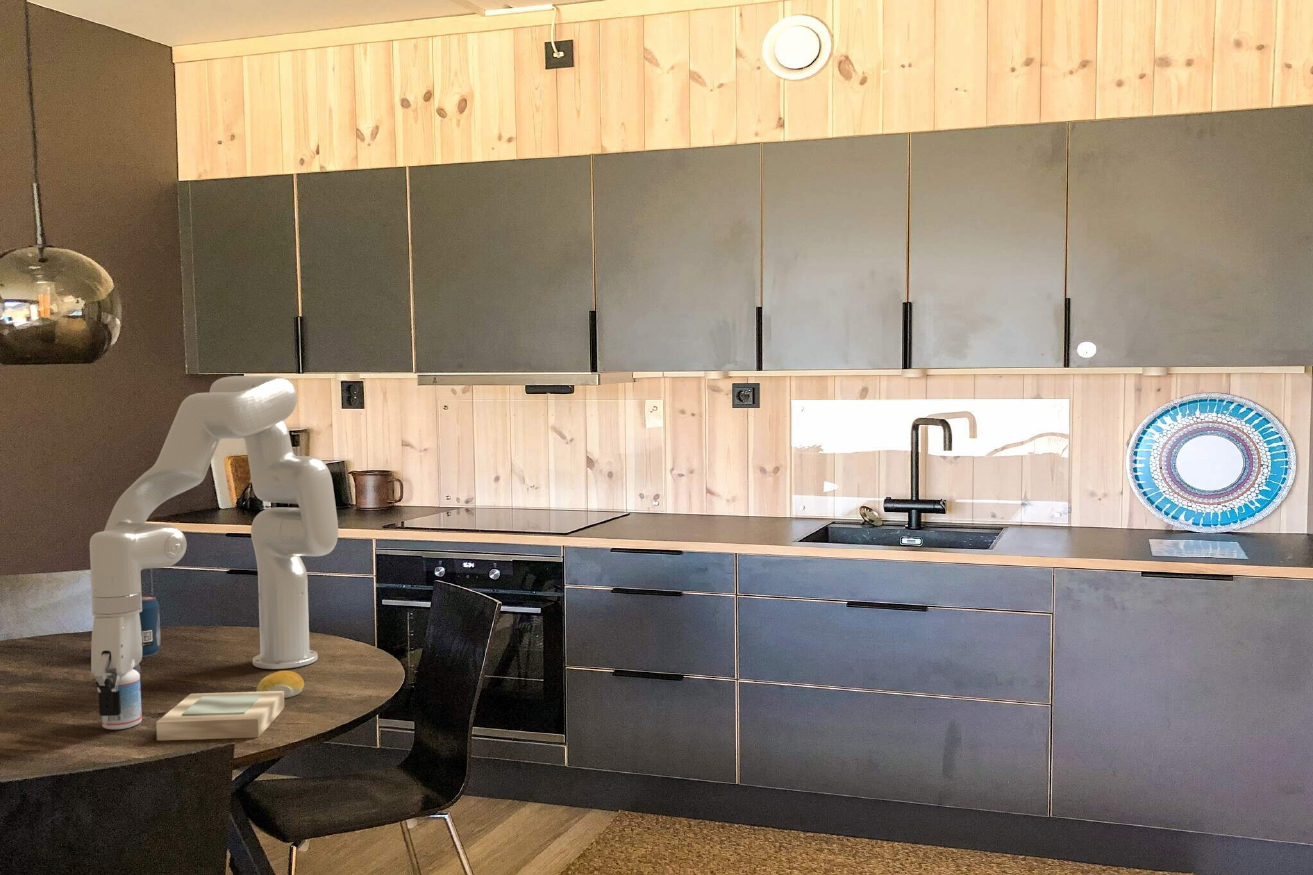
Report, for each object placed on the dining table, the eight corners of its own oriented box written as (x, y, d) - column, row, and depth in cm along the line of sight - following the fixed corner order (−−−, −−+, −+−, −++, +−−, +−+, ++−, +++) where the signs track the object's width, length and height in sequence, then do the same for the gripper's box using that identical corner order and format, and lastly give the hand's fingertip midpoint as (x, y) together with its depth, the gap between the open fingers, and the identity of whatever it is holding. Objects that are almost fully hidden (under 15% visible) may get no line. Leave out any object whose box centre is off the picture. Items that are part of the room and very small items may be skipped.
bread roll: (305, 685, 212) (305, 664, 212) (301, 698, 204) (300, 676, 203) (259, 688, 210) (259, 667, 210) (253, 701, 202) (252, 680, 202)
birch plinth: (191, 710, 196) (190, 691, 196) (284, 707, 197) (283, 689, 197) (156, 740, 180) (156, 720, 180) (258, 737, 181) (257, 717, 181)
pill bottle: (149, 721, 190) (147, 656, 189) (119, 732, 185) (116, 665, 184) (124, 717, 193) (122, 653, 192) (93, 728, 187) (90, 661, 186)
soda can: (120, 654, 237) (118, 597, 236) (155, 648, 241) (152, 593, 240) (130, 660, 231) (128, 602, 231) (165, 654, 236) (163, 597, 235)
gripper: (115, 594, 196) (119, 693, 197) (70, 616, 178) (74, 724, 179) (159, 593, 196) (163, 691, 197) (119, 614, 179) (123, 722, 180)
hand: (121, 706), depth 188 cm, fingers open, 8 cm apart
